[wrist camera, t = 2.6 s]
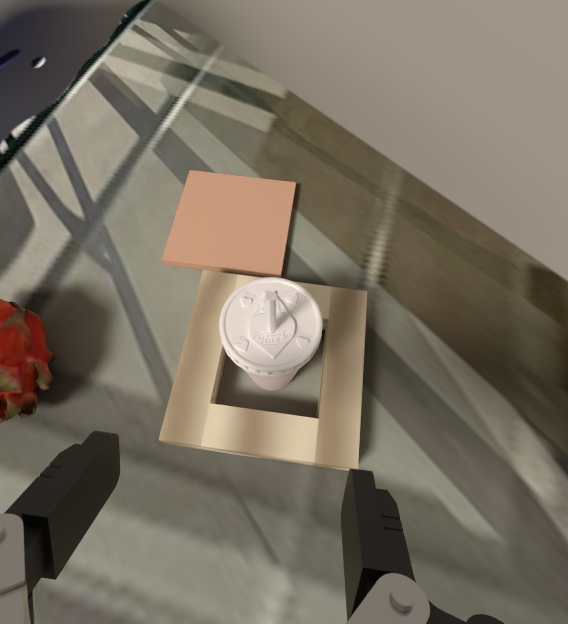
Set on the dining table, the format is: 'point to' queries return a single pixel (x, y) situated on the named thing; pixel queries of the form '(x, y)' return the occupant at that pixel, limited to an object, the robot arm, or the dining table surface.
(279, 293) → the smoothie
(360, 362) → the block
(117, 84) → the dining table surface
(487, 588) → the dining table surface
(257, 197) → the coaster
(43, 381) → the dragon fruit
